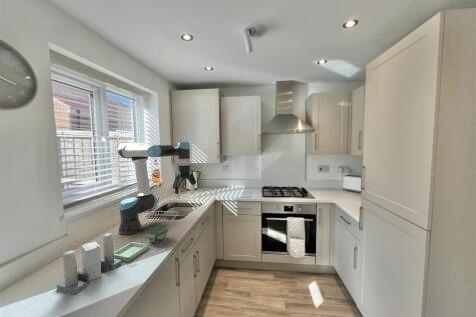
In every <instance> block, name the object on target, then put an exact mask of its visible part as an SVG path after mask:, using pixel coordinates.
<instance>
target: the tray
mask: <svg viewBox="0 0 476 317" xmlns="http://www.w3.org/2000/svg"><path fill="white" fill-rule="evenodd" d="M147 250H149V244H147V243H142V242H133V241H131V242H129V243H127V244H126V245H124V246H122V247H120V248H119V249H117V250H115V251H114V259H119V260H122V262H126V263H127V262H128V263H130V262H131V261H133V260H134V259H136V258H137V257H139V256H140V255H141V254H142V253H144V252H147Z"/></svg>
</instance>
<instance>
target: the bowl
mask: <svg viewBox="0 0 476 317" xmlns="http://www.w3.org/2000/svg"><path fill="white" fill-rule="evenodd" d="M168 232H169V227H168V225H165V224H158V225H153V226H150V227H149V228H147V229H146V230H145V233H146V237H147V239H148V240H149V241H150V242H152V243H154V244H159V243H161V242H163V241H164V239H165V238H166V237H167V236H168Z"/></svg>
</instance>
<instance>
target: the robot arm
mask: <svg viewBox="0 0 476 317" xmlns="http://www.w3.org/2000/svg"><path fill="white" fill-rule="evenodd" d="M117 153H118V156H120V157H121V158H123V159H131V162H133V164H134V170H135V178H136V184H137V191H138V192H137V195H136V197H135V196H134V197H133V196H132V197H128V198H125V199H123V200H121V201H120V202H119V214H120V224H119V228H118V234H119V235H121V236H128V235H132V234H134V235H135V234H136V233H139V232H140V231H141V230H142V229H143V226H142V224H141V221H140V219H139V218H140V217H139V215H140V214H143V213H146V212H150V211H151V210H154V209H155V208H156V207H157V204H158V198H157V197H156V195H155V194H153V192H152V191H151V187H150V178H149V172H148V164H147V162H148V160H149V157H150V158H161V157H164V158H165V157H178V171H179V173H178V172H176V173H175V178H174V182H173V184H172V189H174V191H175V192H174V193H175V199H177V200H180V199H181V190H180V187H181V185H182V182H183V181H185V179H187V180H188V182H189V183H190V185H189V189H190V190H189V192H190V195H195V185H196V184H197V180H196V178H195V175H194V171H193V170H191V146H190V142H189V141H179V142H178V143H177V144H158V145H157V144H154V145H153V144H151V145H150V144H149V145H147V144H146V143H144V142H143V143H142V142H133V143H132V142H127V143H122V144H120V145H119V147H118V149H117Z"/></svg>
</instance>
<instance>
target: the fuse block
mask: <svg viewBox="0 0 476 317" xmlns="http://www.w3.org/2000/svg"><path fill="white" fill-rule="evenodd" d="M102 246H103V248H102V250H103V258H101V271H105V272H108V271H110V270H114V269H116V268H117V267H119V266H120V265H122V262H123V261H122V260H119V259H114V252H115V251H114V236H113V233H112V232H108V233H105V234H103V235H102ZM77 260H78V259H77V250H75V249H73V250H72V249H71V250H68V251H65V252H63V253H62V261H63V262H62V264H63V273H64V274H63V276H64V277H63V278H64V280H63V281H61V282H59V283H57V284H56V290H58V291H61V292H65V293H68V294H72V295H76V294H77V293H79V292H81V291H83V290H84V289H86V288H87V287H88V285H89V284H90V281H89V275H88V273H83V271H79V270H78V264H77V263H78V262H77Z"/></svg>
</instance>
